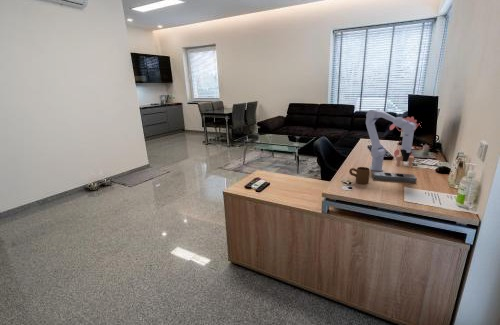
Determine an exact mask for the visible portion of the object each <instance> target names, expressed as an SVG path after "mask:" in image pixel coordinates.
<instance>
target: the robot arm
mask: <svg viewBox="0 0 500 325" xmlns="http://www.w3.org/2000/svg"><path fill="white" fill-rule="evenodd" d="M365 117H366V118H365V125H366V129H367V130H366V131H367V134H368V137H369V139H370V142H371V143H370V144H371V148H370V155H371V165H370V166H369V167H370V168H369V169H370V171H374V172H384V169H383V165H384V156H386V153H387V151H386V149H385V148H384V146H383V145H382V144H381V142H380V139H379V138H380V137H379V134H378V132H377V127H376V124H375V123H376V121H377V120H379V119H380V118H382V119H385V120H387V121H389V122H392V124H394V125H395V127H397V128H398V129H399V128H400V130H403V135H402V140H401V141H402V142H401V147H400V148H401V149H399V152H400V153H401V154H400V155H401V156H403V161H402V162H405V163H408V162H407V160H408V158H409V156H410V155H411V153H412V154H413V152H412V150H414V149H415V148H414V147H413V140H414V133H415V131H416V129H417V128H416V127H417V125H416V124H415V123H413V122H409V121H406V120H404V119H403V116H397V117H395V116H393V115H391V114H389V113H388V112H386V111H384V110H382V109H379V108H377V109H376V108H375V109H370V110H368V111H367V112H366V114H365ZM414 130H415V131H414Z"/></svg>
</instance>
